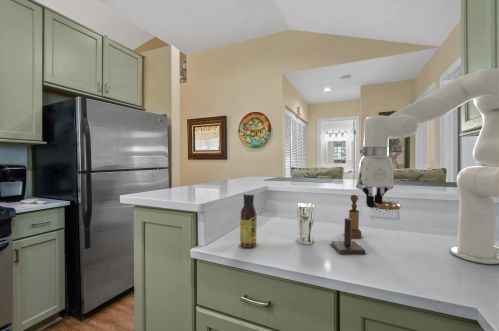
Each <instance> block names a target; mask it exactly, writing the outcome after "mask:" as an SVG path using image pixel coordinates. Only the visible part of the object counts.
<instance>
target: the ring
mask: <svg viewBox="0 0 499 331" xmlns="http://www.w3.org/2000/svg"><path fill="white" fill-rule="evenodd" d="M401 208H402V207H401V204H400V203H398V202H395V201H390V200H382V204H377V203H374V208H373V209H377V210H387V211H397V210H400V209H401Z"/></svg>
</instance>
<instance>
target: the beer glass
mask: <svg viewBox="0 0 499 331" xmlns="http://www.w3.org/2000/svg"><path fill="white" fill-rule="evenodd" d="M314 223H315V205H314V204H312V203H297V204H296V225H297V237H296V238H297V239H296V241H297V243H298V244H302V245H311V244H313V241H314V240H313V236H312V233H313V227H314Z"/></svg>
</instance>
